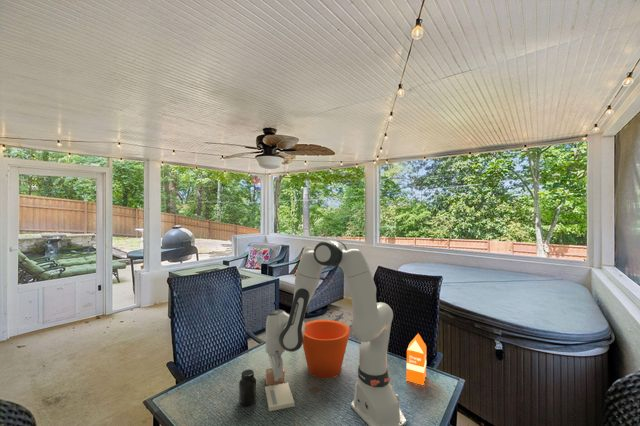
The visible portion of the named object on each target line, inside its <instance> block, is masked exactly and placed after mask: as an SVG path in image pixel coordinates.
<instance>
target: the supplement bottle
mask: <svg viewBox="0 0 640 426" xmlns="http://www.w3.org/2000/svg"><path fill="white" fill-rule="evenodd" d="M254 374H255V373H254V370H253V369H245V370H242V372H241V378H240V380H239V381H238V404H239V406H241V407H242V408H249V407H252V406H254V405H255V404H256V402H257V379H256V377H255V375H254Z"/></svg>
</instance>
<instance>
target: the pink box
mask: <svg viewBox="0 0 640 426" xmlns="http://www.w3.org/2000/svg"><path fill="white" fill-rule="evenodd" d="M285 372H286V371H285V368H284V367H283V376H282V377H281V378H278V381H274V375H273V371H272V367H271V368H266V369H265V383H266V385H265V386H268V385H274V384H280V383H285Z"/></svg>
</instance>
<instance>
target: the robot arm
mask: <svg viewBox="0 0 640 426" xmlns="http://www.w3.org/2000/svg"><path fill="white" fill-rule="evenodd" d="M324 267H340V268H341V269H342V272H343V275H344V278H345V281H346V285H347V288H348V290H349V294H350V298H351V299H350V300H351V306H352V321H351V332H352V334H353V336H354V337H355V338H356V339H357V340H359V341H361V342H360V345H359V358H358V367H357V381H356V382H355V385H354V397H353V400H352V401H351V403H350V407H351V408H352V410H353V411H354V412H355V413H356V414H357V415H358V416H359V417H360V418H361V419H362V420H363V422H365V423H366V424H367V425H368V426H403V425H404V424H405V423H406V424H407V419H406V416H405V415H404V414H403V412H402V410H401V408H400V404H399V401H400V397H399V394H397V393H395V391H394V387H393V385H391V382H390V380H391V377H390V374H389V370H388V347H389V342H390V335H391V334H390V333H391V327H392V322H393V319H394V311H393V309H392V308H391V307H390V305H389V304H387V303H385V302H382V301H381V302H380V301H379V302H377V286H376V284H375V280H374V278H373V275H372V272H371V270H370V269H371V268H370V266H369V264H368V262H367V259H366V258H365V256H364V254H363V252H362V251H361V250H360V249H357V248H349V249H348V248H347V246H346V245H345V244H344V242H342V241H340V240H333V239H332V240H331V239H330V240H329V239H328V240H322V241H320V242H318V243H317V244H316V245H315V247H314V248H313V249H310V250H306V251H304V252H303V254H302V255H301V258H300V261H299V263H298V266H297V269H296V273H295V276H294V277H295V279H294V289H293V300H292V305H291V309H290V313H287V312H286V311H285V310H283V309H276V310H272V311H271V312H269V313H268V315H267V316H266V323H265V333H266V334H265V335H266V337H265V353H267V355H268V359H269V364H270V367H271V368H272V371H273V375H274V381H278V378H281V377H282V376H283V368H284V365H283V364H284V363H283V357H282V355H283V353H284V352H285V351H286V352H288V353H289V352H290V353H293V352H296V351H299V350H300V349H301V348H302V346H303V337H304V333H305V329H306V325H305V323H306V322H305V320H304V319H305V316H306V312H307V308H308V306H309V303H310V302H311V299H312V298H313V296H314V294H315V292H316V290H317V288H318V285H319V282H320V280H321V275H322V272H323V269H324ZM400 423H401V424H400ZM406 424H405V425H406ZM405 425H404V426H405Z"/></svg>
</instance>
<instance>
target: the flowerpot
mask: <svg viewBox="0 0 640 426" xmlns="http://www.w3.org/2000/svg"><path fill="white" fill-rule="evenodd" d="M305 325H306V329H305V333H304V337H303V343H302V346H303V347H302V348H303V352H304V355H305V361H306V365H307V370H308V373H309V374H310V375H311V376H313V377H314V376H315V378H317V379H322V378H323V380H325V379H326V380H327V379H333V378H335V377H337V376H339V375H340V373H341V369H342V366H343V363H344V362H343V361H344V358H345V354H346V348H347V345H348V342H349V338H350V333H351V328H350V327H349V326H348V325H347V324H345V323H343V322H342V321H337V320H333V319H316V320H314V319H313V320H311V321H307V322H305Z"/></svg>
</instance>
